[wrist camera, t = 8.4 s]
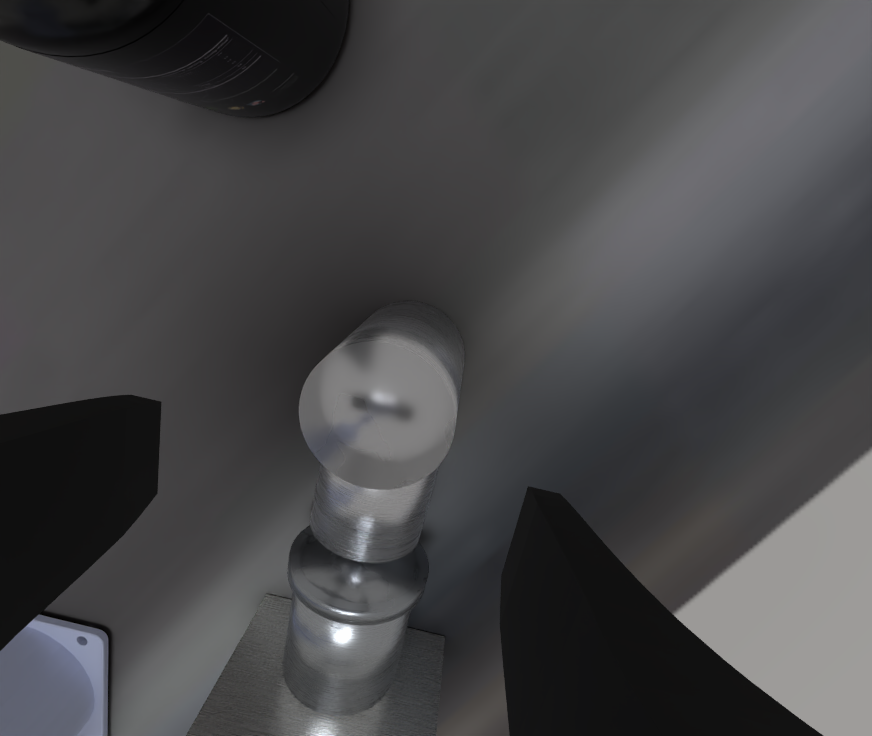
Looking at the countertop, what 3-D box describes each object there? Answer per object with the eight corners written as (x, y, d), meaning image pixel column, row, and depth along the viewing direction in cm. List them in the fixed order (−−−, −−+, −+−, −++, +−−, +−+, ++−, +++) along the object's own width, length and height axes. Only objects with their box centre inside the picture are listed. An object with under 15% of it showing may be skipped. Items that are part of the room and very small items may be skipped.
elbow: (367, 288, 18) (312, 324, 12) (477, 316, 18) (473, 365, 12) (328, 482, 20) (268, 587, 15) (425, 507, 20) (402, 623, 15)
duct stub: (439, 655, 23) (420, 845, 16) (264, 613, 23) (172, 783, 16) (470, 539, 21) (464, 699, 14) (280, 494, 21) (182, 630, 14)
